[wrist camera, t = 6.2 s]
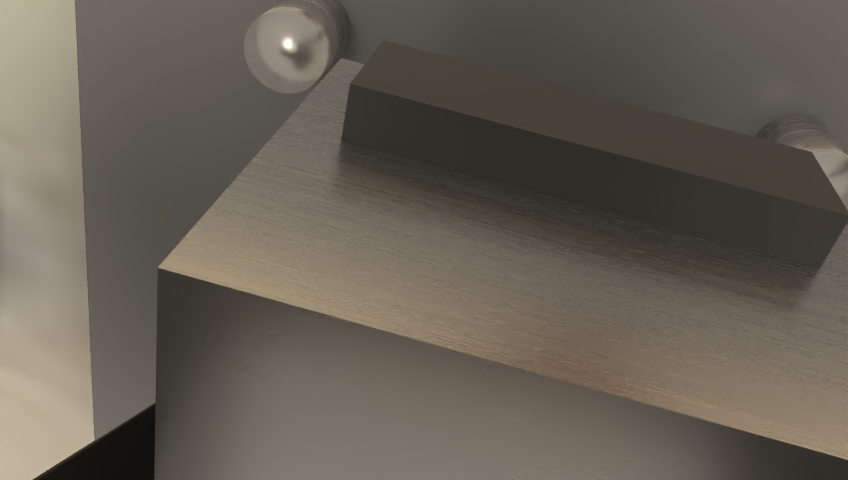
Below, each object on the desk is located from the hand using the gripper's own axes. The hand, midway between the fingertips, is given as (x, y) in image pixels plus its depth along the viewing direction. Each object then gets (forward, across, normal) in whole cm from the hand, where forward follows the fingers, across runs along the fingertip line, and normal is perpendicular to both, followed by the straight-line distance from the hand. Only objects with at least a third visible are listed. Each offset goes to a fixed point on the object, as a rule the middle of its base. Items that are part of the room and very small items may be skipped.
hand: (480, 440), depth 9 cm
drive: (+1, 0, 0) cm, 1 cm away
